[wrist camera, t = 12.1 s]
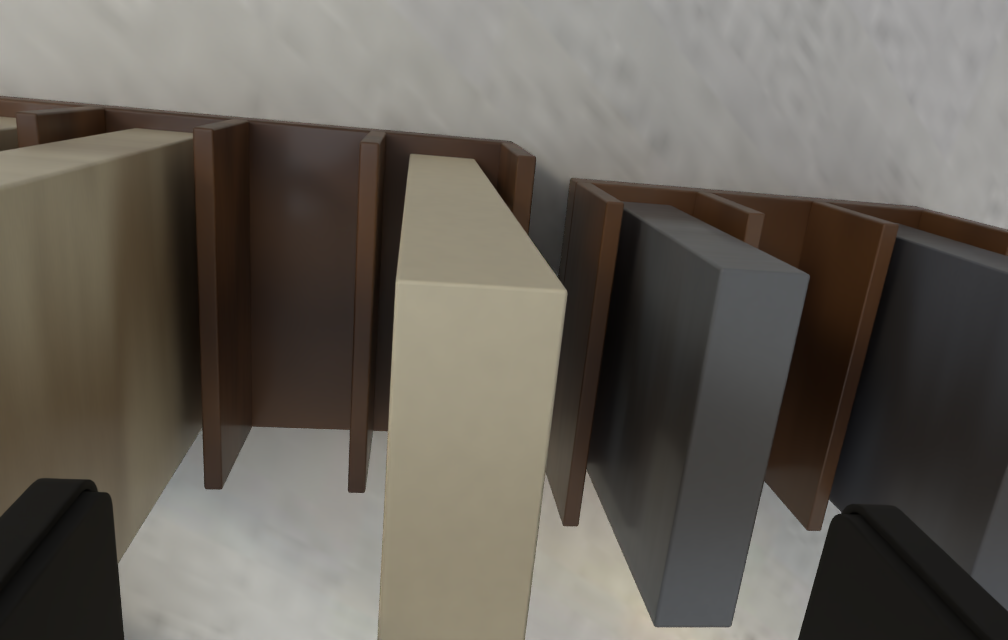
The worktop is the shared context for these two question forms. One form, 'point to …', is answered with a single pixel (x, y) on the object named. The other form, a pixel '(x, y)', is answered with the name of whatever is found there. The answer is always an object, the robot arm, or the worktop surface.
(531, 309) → the cream book
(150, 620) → the worktop surface
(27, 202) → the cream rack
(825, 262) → the brown slotted rack
